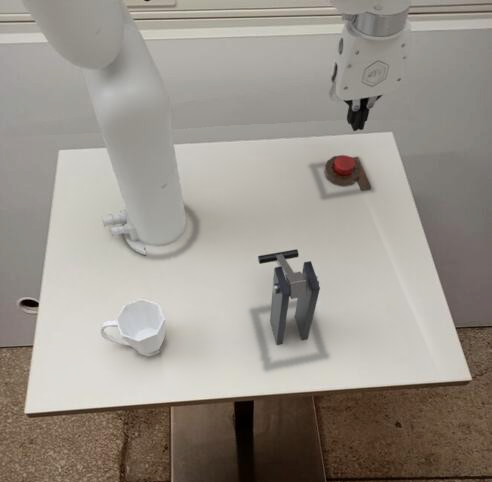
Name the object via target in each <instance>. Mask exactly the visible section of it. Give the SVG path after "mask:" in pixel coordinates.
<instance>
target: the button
mask: <svg viewBox="0 0 492 482" xmlns="http://www.w3.org/2000/svg"><path fill="white" fill-rule="evenodd" d="M342 155H343V156H340V155H338V156H339V157H337V158H336V160H335V163H334V168H332V169H333V172H334V173H335V174H337V175H339V176H343V177H345V176H350V175H351V174H353V168H354V164H355V162H354V160H353V159H352V158H353V157H352V156H350V155H344V154H342ZM351 157H352V158H351Z"/></svg>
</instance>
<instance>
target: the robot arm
mask: <svg viewBox="0 0 492 482" xmlns="http://www.w3.org/2000/svg"><path fill="white" fill-rule="evenodd" d="M19 1H20V2H21V4H22V5H23V6H24V8H25V10H26V11H27V12H28V13H29V15H30V16H31V18H32V19H33V21H34V22H35V23H36V25H37V27H38V28H39V30H40V31H41V33H42V34H43V36H44V38H45V39H46V41H47V42H48V43H49V45H50V46H51V47H52V48H53V50H54V51H55V52H56V53H58V54H59V55H60V57H62V58H63V59H64V60H66V61H68V62H69V63H70V64H72V65H74V66H76V67H79V68H80V70H81V72H82V75H83V78H84V82H85V85H86V89H87V92H88V96H89V98H90V102H91V104H92V105H91V106H92V108H93V111H94V114H95V118H96V120H97V124H98V127H99V130H100V133H101V135H102V138H103V141H104V144H105V147H106V152H107V155H108V158H109V161H110V164H111V167H112V170H113V173H114V175H115V179H116V182H117V185H118V188H119V192H120V195H121V198H122V202H123V204H124V210H120V211H119V213H115V214H113V213H111V214H104V215H102V216H101V219H102V224H103V227H104V228H105V227H110V233H111V235H112V236H118V235H121V234H123V235H124V238H125V240H126V242H127V244H128V245H129V246H130V248H131V249H133V250H134V251H135V252H137V253H139V254H141V255H143V256H147V251H146V245H147V246H151V247H163V246H167V245H170V244H172V243H175V242H176V241H177V240H179V239H180V238H181V237H182V235H183V234H184V232H185V231H186V228H187V216H186V210H185V205H184V198H183V193H182V192H183V191H182V185H181V180H180V173H179V168H178V161H177V155H176V150H175V144H174V136H173V112H172V111H173V110H172V106H171V101H170V97H169V93H168V91H167V88H166V85H165V83H164V80H163V78H162V75H161V73H160V71H159V69H158V66H157V64H156V62H155V61H154V59H153V56H152V54H151V52H150V50H149V47H148V45H147V43H146V41H145V38H144V37H143V34H142V32H141V31H140V29H139V27H138V26H137V23H136V21H135V19H134V18H133V15H132V14H131V12H130V10H129V8H128V6H127V4H126V2H125V0H19ZM326 1H327V3H329V4H330V5H331V6H332V7H333V8H334V9H335V10H337V11H338V12H340V13H341V20H342V21H343V22H344V21H345V23H344V25H343V27H342V30H341V34H340V36H339V39H338V42H337V46H336V50H335V54H334V58H333V62H332V69H331V76H330V81H331V83H332V84H331V87H330V89H329V92H328V95H329V98H330V100H331V101H333V102H334V101H335V102H344V103H345V104H346V105H347V106H348V109H347V114H346V122H347V124H348V125H351V129H352V131H353V132H357V131H358V130H359V131H363V130H364V129H365V124H366V122H368V118H369V115H370V110H371V109H372V108H374V106H375V104H376V102H377V101H378V100H379V99H381V97H382V96H384V95H389V94H393V93H395V92H397V91H399V90H400V88H401V86H402V85H403V84H402V83H403V81H404V78H405V73H406V68H407V63H408V57H409V51H410V44H411V43H410V42H411V33H412V32H411V31H412V25H411V22H410V21H409V19H408V16H409V12H410V9H411V5H412V0H326ZM121 224H122V225H121ZM115 225H119V226H115Z"/></svg>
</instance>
